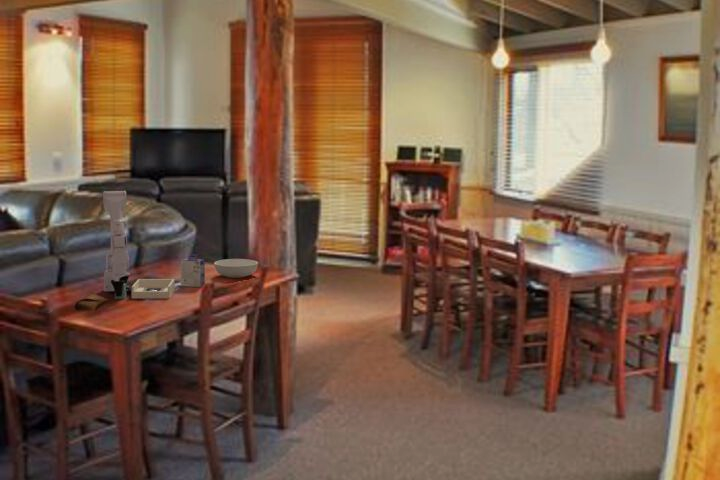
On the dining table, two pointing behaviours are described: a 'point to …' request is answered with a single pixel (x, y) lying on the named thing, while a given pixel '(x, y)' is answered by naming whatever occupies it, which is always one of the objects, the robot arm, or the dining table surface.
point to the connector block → (122, 293)
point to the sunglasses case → (90, 302)
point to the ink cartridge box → (193, 271)
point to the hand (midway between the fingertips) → (120, 294)
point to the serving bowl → (236, 267)
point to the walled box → (161, 285)
